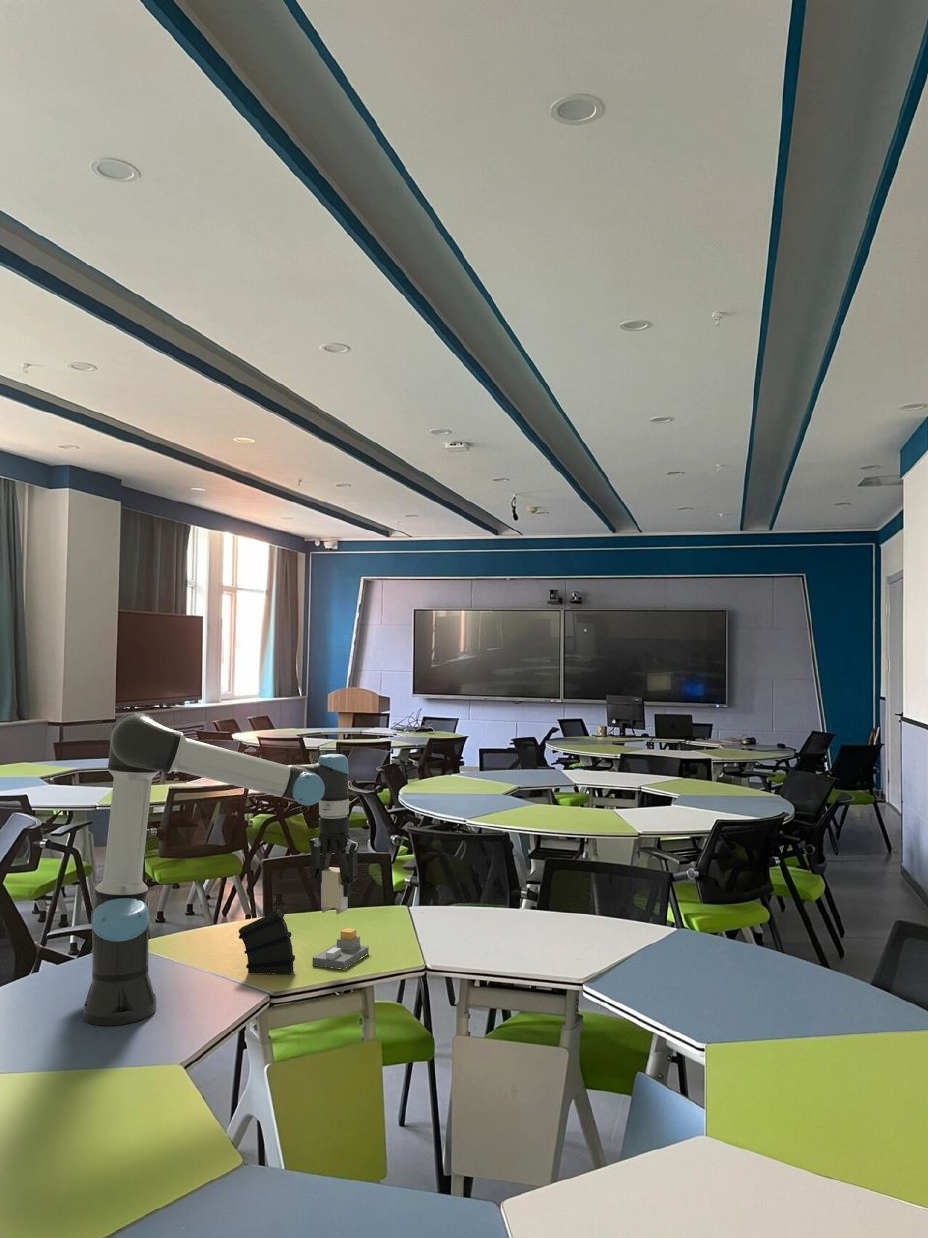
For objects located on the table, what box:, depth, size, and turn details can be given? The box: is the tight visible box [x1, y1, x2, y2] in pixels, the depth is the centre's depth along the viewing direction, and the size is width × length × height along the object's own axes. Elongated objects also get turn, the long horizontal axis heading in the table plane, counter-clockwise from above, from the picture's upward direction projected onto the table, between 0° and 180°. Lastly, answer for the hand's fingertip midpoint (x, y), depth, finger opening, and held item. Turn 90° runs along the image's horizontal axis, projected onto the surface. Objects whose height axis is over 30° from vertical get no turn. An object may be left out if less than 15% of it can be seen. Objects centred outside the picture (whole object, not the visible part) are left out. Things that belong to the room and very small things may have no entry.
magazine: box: [238, 909, 296, 975], centre depth 235 cm, size 4×13×15 cm, turn 88°
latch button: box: [340, 927, 357, 940], centre depth 248 cm, size 3×3×3 cm
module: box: [321, 866, 348, 915], centre depth 241 cm, size 5×4×10 cm
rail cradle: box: [312, 935, 370, 970], centre depth 244 cm, size 9×13×4 cm
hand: (334, 908), depth 241 cm, fingers closed on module, 5 cm apart
